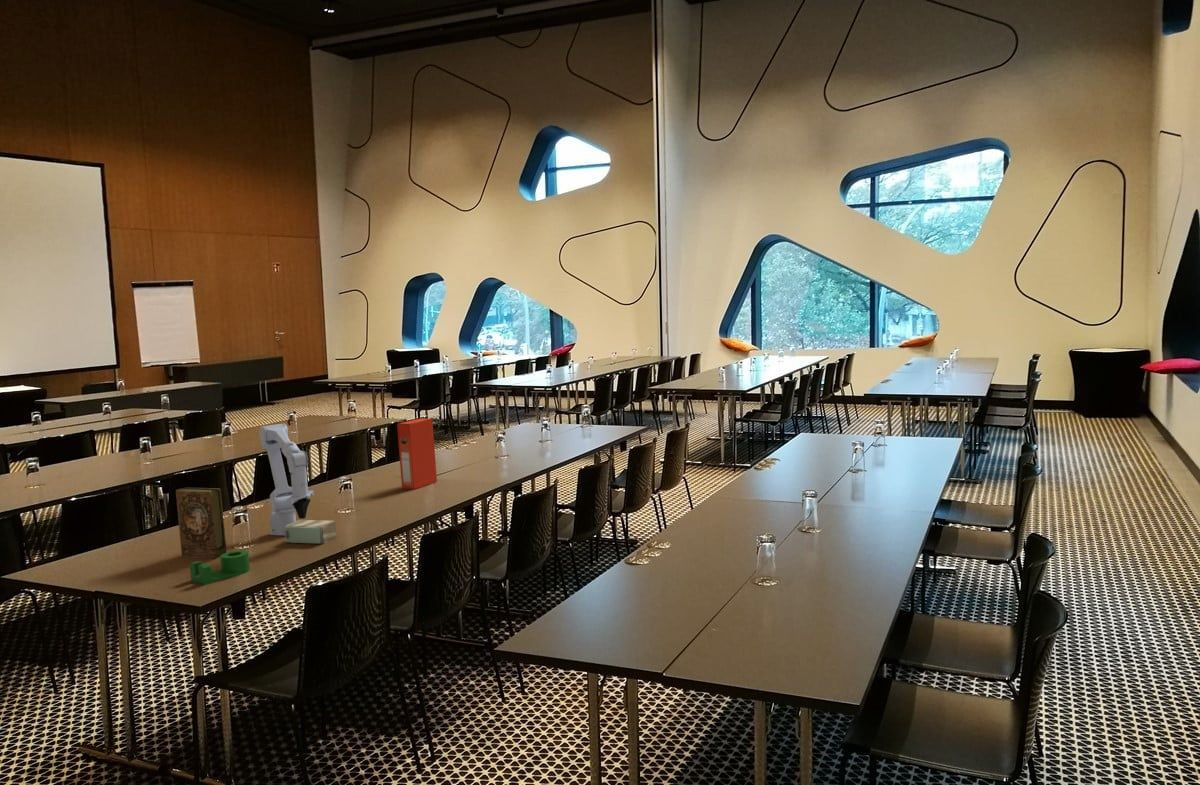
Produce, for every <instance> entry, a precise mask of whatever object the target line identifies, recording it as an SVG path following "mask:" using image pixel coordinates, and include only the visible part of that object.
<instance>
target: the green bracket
mask: <svg viewBox="0 0 1200 785" xmlns="http://www.w3.org/2000/svg"><path fill="white" fill-rule="evenodd" d="M249 554H250V553H249V551H248V550H245V549H244V550H243V549H239V550H230V551H226V553H224V554H222V555H219V558H220V567H221V568H218V569H214V570H212V568H211V564H209V563H207V562H205V563H203V562H202V561H200V560H197V561H196V560H195V561H193V562H190V564H189V568H190V569H189V570H190V577H191V578H190V579H191V581H192V582H195V583H197V584H198V583H199V584H201V585H204V586H205V585H209V584H212V583H215V582H220V581H222V580H226V579H230V578H234V577H236V576H240V575H243V574H246V573H248V572H250V570H251V566H250V557H249V556H250V555H249Z"/></svg>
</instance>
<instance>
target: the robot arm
mask: <svg viewBox="0 0 1200 785" xmlns="http://www.w3.org/2000/svg"><path fill="white" fill-rule="evenodd" d="M258 434H259V435H258V436H259V440H260V444H261V448H262V449H263V448H264V449H266V452H267V456H268V460H269V461H268V462H269V464H270V468H271V474H272V478H273V481H274V482H273V483H274V487H275V489H274V490H272V492H271V493H270V495H269V501H270V502H269V503H270V505H269V506H270V508H271V511H272V512H271V514H270V515H269V527H270V533H269V535H270V536H285V527H286V526H287V525H289V524H291V523H293V522H295V521H297V519H296V514H297V516H298V520H305V519H306V517H307V511H308V507H309V505H310V502H311V498H310V497H311V496H315V492H314V490H309V489H308V475H307V474H308V473H307V466H308V464H309V457H308V454H307V452H306V451H305V450H300V448H299V447H298V445H297V444H296V443H295V442H294V441H291V440H290V438H289V428H288V425H286V423H285V422H284V423H279V424H271V425H270V424H269V425H261V426H260V427H259V432H258ZM281 452H282V453H281ZM282 454H283V455H284V457H285V458H286V461H287V467H288V471H289V473H290V480H291V482H290V483H291V486H289V484H288V479H287V475H286V471H285V466H284V461H283V457H282Z"/></svg>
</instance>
